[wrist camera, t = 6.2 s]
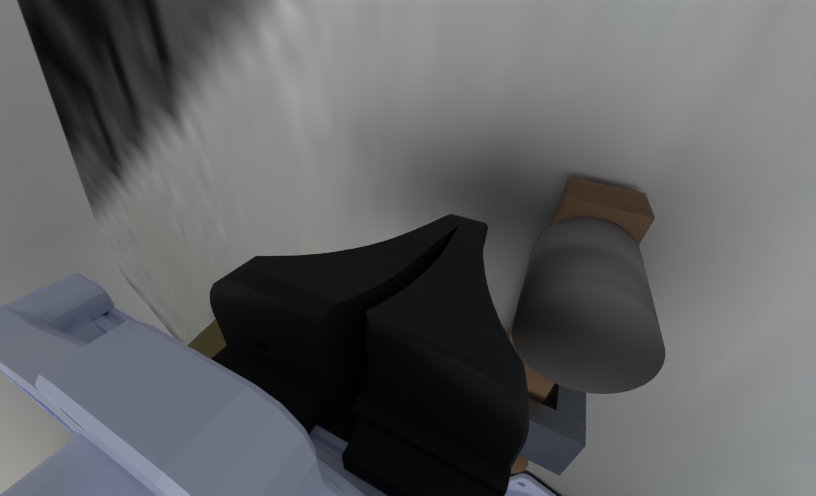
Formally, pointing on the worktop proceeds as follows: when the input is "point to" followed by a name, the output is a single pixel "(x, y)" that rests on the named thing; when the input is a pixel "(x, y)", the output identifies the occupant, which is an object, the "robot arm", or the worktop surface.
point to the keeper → (556, 429)
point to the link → (588, 298)
